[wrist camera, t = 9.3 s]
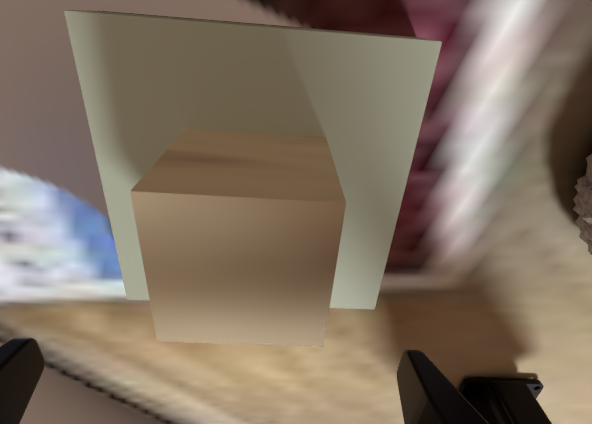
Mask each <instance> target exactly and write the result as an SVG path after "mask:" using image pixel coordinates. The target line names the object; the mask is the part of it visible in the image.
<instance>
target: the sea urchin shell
mask: <svg viewBox="0 0 592 424" xmlns="http://www.w3.org/2000/svg"><path fill="white" fill-rule="evenodd" d="M586 159H587V163H588V165H587V171H586V175H585V176H583V177H581V178H579V179H577V182H578V184H577V185H575V186H574V187H575V188H576V190H577V192H578V194H577V195H576V197H575V198H574V199H573V201H574V202H575V203H576V206H575V207H574V209H573V210H575V211H576V212H577V213H578V214H579V215H580V216H579V217H578V219H577V220H576V221H575V222H576V223H577V225H578V226H579V227H580V230H581V233H580V238H581V239H582V240H583V241H584V242H586V243H587V244H588V251H589V252H590V254H591V255H592V154H591V155H590V156H588V157H587V158H586Z"/></svg>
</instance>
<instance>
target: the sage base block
mask: <svg viewBox="0 0 592 424" xmlns="http://www.w3.org/2000/svg"><path fill="white" fill-rule="evenodd" d="M64 14H65V18H66V22H67V27H68V32H69V36H70V41H71V46H72V50H73V54H74V59H75V64H76V68H77V72H78V77H79V82H80V86H81V91H82V96H83V100H84V104H85V109H86V114H87V118H88V123H89V127H90V132H91V136H92V141H93V145H94V150H95V154H96V159H97V164H98V168H99V173H100V177H101V182H102V186H103V191H104V196H105V200H106V205H107V209H108V214H109V218H110V223H111V227H112V232H113V237H114V241H115V246H116V250H117V255H118V259H119V264H120V268H121V273H122V277H123V282H124V287H125V291H126V296H127V300H150V299H149V294H148V288H147V283H146V277H145V272H144V266H143V261H142V255H141V249H140V244H139V238H138V233H137V227H136V222H135V216H134V211H133V205H132V200H131V194H130V191H131V189H132V188H133V187H134V186H135V185H136V184H137V183H138V182H139V181H140V179H141V178H142V177H143V176H144V175H145V174H146V173H147V172H148V170H149V169H150V168H151V167H152V166H153V165H154V164H155V163H156V162H157V160H158V159H159V158H160V157H161V156H162V155H163V154H164V153H165V151H166V150H167V149H168V148H169V147H170V146H171V145H172V144H173V142H174V141H175V140H176V139H177V138H178V137H179V136H180V135H181V134H182V132H183V131H184V130H185V129H198V130H213V131H229V132H245V133H260V134H276V135H292V136H307V137H323V138H327V142H328V145H329V148H330V151H331V155H332V158H333V161H334V164H335V168H336V171H337V174H338V177H339V181H340V184H341V187H342V190H343V194H344V197H345V200H346V208H345V215H344V221H343V227H342V233H341V239H340V246H339V252H338V258H337V264H336V270H335V277H334V283H333V289H332V295H331V302H330V308H351V309H375V306H376V302H377V298H378V294H379V290H380V286H381V282H382V278H383V274H384V270H385V266H386V262H387V258H388V254H389V250H390V246H391V242H392V238H393V234H394V231H395V227H396V223H397V219H398V215H399V211H400V207H401V203H402V199H403V195H404V191H405V187H406V183H407V179H408V175H409V171H410V167H411V163H412V159H413V155H414V151H415V147H416V143H417V139H418V135H419V131H420V127H421V123H422V119H423V115H424V111H425V107H426V103H427V99H428V95H429V92H430V88H431V84H432V80H433V76H434V72H435V68H436V64H437V60H438V56H439V52H440V48H441V44H442V41H436V40H430V39H425V38H419V37H410V36H397V35H385V34H373V33H361V32H349V31H337V30H325V29H313V28H301V27H289V26H277V25H265V24H251V23H240V22H227V21H215V20H204V19H192V18H179V17H168V16H156V15H144V14H132V13H119V12H107V11H67V10H66V11H64Z"/></svg>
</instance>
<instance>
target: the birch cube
mask: <svg viewBox="0 0 592 424" xmlns="http://www.w3.org/2000/svg"><path fill="white" fill-rule="evenodd" d="M130 194H131V200H132V205H133V211H134V216H135V222H136V227H137V233H138V238H139V244H140V249H141V255H142V261H143V266H144V272H145V277H146V283H147V288H148V294H149V299H150V305H151V310H152V316H153V321H154V327H155V332H156V338H157V341H163V342H194V343H225V344H256V345H287V346H318V347H323V345H324V339H325V333H326V326H327V320H328V314H329V308H330V302H331V295H332V289H333V283H334V277H335V270H336V264H337V258H338V252H339V246H340V239H341V233H342V227H343V221H344V215H345V208H346V200H345V197H344V194H343V190H342V187H341V184H340V181H339V177H338V174H337V171H336V168H335V164H334V161H333V158H332V155H331V151H330V148H329V145H328V142H327V138H323V137H307V136H292V135H276V134H260V133H245V132H229V131H213V130H198V129H185V130H184V131H183V132H182V134H181V135H180V136H179V137H178V138H177V139H176V140H175V141H174V142H173V144H172V145H171V146H170V147H169V148H168V149H167V150H166V151H165V153H164V154H163V155H162V156H161V157H160V158H159V159H158V160H157V162H156V163H155V164H154V165H153V166H152V167H151V168H150V169H149V170H148V172H147V173H146V174H145V175H144V176H143V177H142V178H141V179H140V181H139V182H138V183H137V184H136V185H135V186H134V187H133V188H132V189H131V191H130Z"/></svg>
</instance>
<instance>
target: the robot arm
mask: <svg viewBox="0 0 592 424" xmlns="http://www.w3.org/2000/svg"><path fill="white" fill-rule="evenodd" d="M44 365H45V360H44V357H43V355H42V353H41V350H40V348H39V346H38V343H37V341H36V340H35V339H33V338H14V339H12V340H10V341H8V342H7V343H5V344H4V345H2V346H1V347H0V424H19V423H20V421H21V419H22V417H23V414H24V412H25V410H26V408H27V405H28V403H29V401H30V399H31V397H32V394H33V392H34V390H35V388H36V385H37V383H38V381H39V379H40V377H41V374H42V372H43V369H44ZM397 382H398V388H399V394H400V400H401V405H402V411H403V417H404V423H405V424H552V423H551V422H550V420H549V419H548V417H547V415H546V414H545V412H544V411H543V409H542V408H541V406H540V405H539V403H538V401H537V400H536V398H537V396H538V395H539V393H540V392H541V390H542V389H543V385H542V383H541V382H540V381H539V380H531V379H498V378H466V379H465V380H463V382H462V384H461V386H460V388H459V390H457V389H456V388H455V387H454V386H453V385H452V383H451V382H450V381H449V380H448V379H447V378H446V377H445V376H444V375H443V374H442V373H441V372H440V370H439V369H438V368H437V367H436V366H435V365H434V364H433V363H432V362H431V361H430V360H429V359H428V357H427V356H426V355H425V354H424V353H423V352H421V351H418V350H406V351H404V353H403V355H402V358H401V361H400V364H399V367H398V370H397Z"/></svg>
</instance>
